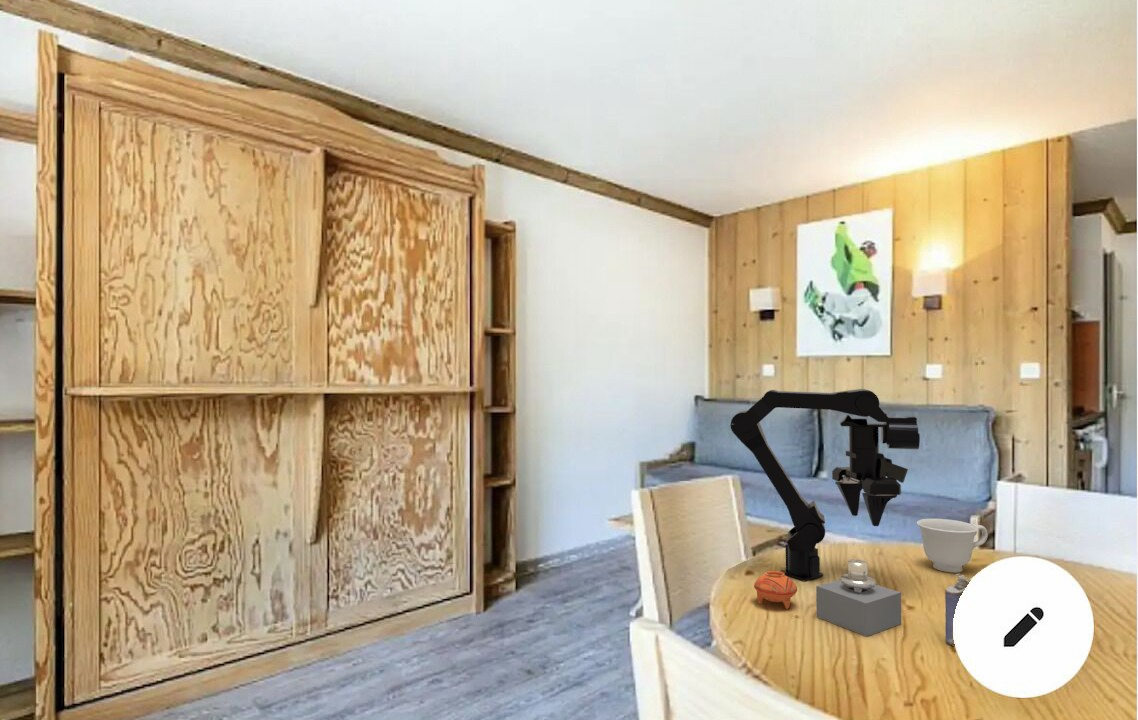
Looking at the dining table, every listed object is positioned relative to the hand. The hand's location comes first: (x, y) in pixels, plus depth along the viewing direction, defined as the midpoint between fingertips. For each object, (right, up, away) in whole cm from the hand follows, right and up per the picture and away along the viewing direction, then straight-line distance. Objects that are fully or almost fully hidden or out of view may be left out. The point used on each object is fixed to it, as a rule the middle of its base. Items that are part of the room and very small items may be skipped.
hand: (864, 520), depth 133 cm
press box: (-11, -13, -21) cm, 27 cm away
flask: (+3, -13, -29) cm, 32 cm away
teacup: (+24, -13, +8) cm, 29 cm away
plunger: (-11, -13, -21) cm, 27 cm away
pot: (-23, -13, -13) cm, 30 cm away
